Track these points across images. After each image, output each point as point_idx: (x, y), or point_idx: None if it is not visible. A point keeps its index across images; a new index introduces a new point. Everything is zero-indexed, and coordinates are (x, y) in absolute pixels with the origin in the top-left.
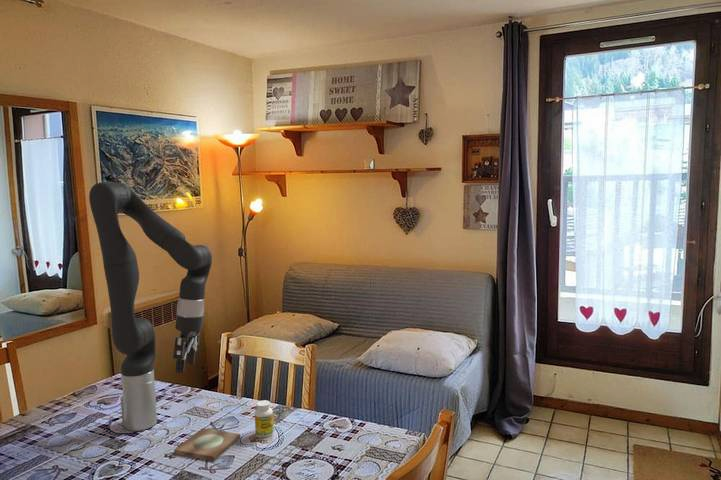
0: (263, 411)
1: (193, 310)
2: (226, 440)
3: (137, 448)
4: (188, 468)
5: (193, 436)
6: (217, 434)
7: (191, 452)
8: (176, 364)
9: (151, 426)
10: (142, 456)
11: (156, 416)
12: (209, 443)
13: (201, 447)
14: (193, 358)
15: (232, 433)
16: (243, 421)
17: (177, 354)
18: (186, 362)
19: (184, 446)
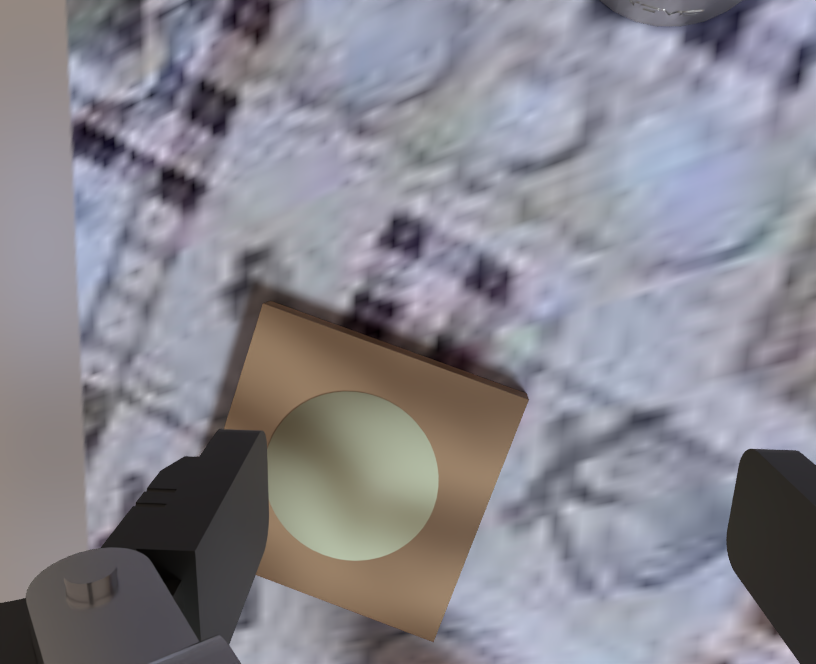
0: None
1: None
2: (360, 578)
3: (333, 43)
4: (127, 423)
5: (417, 372)
6: (435, 512)
7: (229, 414)
8: (180, 491)
9: (618, 13)
10: (241, 119)
11: (701, 12)
12: (326, 491)
13: (282, 456)
14: (779, 618)
15: (445, 596)
16: (651, 613)
17: (45, 659)
18: (755, 450)
19: (296, 353)
